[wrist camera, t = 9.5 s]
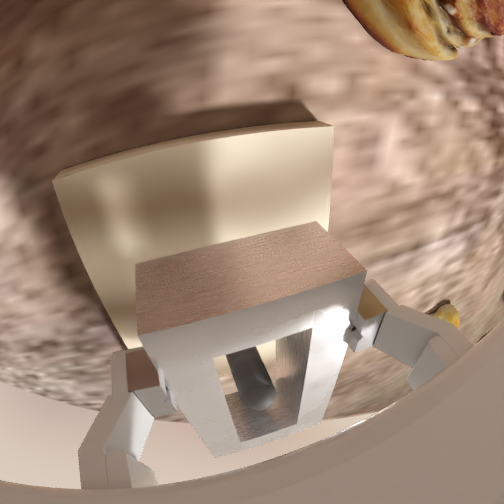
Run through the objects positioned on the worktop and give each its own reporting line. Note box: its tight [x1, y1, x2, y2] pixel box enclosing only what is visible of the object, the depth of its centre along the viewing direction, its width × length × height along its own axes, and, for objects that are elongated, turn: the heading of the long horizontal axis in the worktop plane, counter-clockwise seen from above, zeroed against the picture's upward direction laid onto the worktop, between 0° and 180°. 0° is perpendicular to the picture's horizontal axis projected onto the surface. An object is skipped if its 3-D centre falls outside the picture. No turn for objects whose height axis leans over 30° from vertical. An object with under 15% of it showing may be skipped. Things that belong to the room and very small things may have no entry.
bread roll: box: [430, 304, 460, 329], centre depth 34 cm, size 8×9×4 cm
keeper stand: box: [52, 121, 334, 411], centre depth 14 cm, size 17×13×8 cm
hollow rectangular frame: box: [135, 221, 367, 458], centre depth 11 cm, size 11×6×3 cm, turn 3°
